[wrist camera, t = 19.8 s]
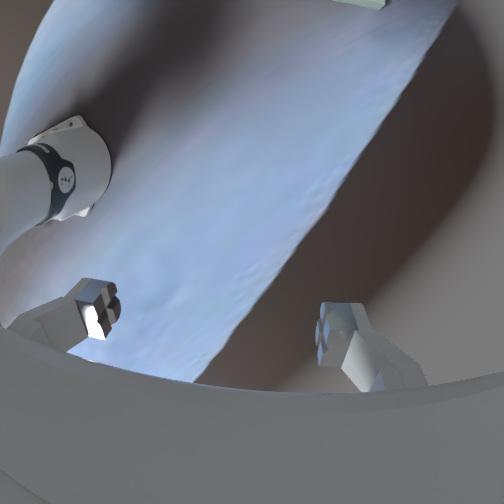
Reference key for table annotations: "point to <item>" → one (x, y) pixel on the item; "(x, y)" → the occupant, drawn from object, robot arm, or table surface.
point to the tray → (366, 3)
